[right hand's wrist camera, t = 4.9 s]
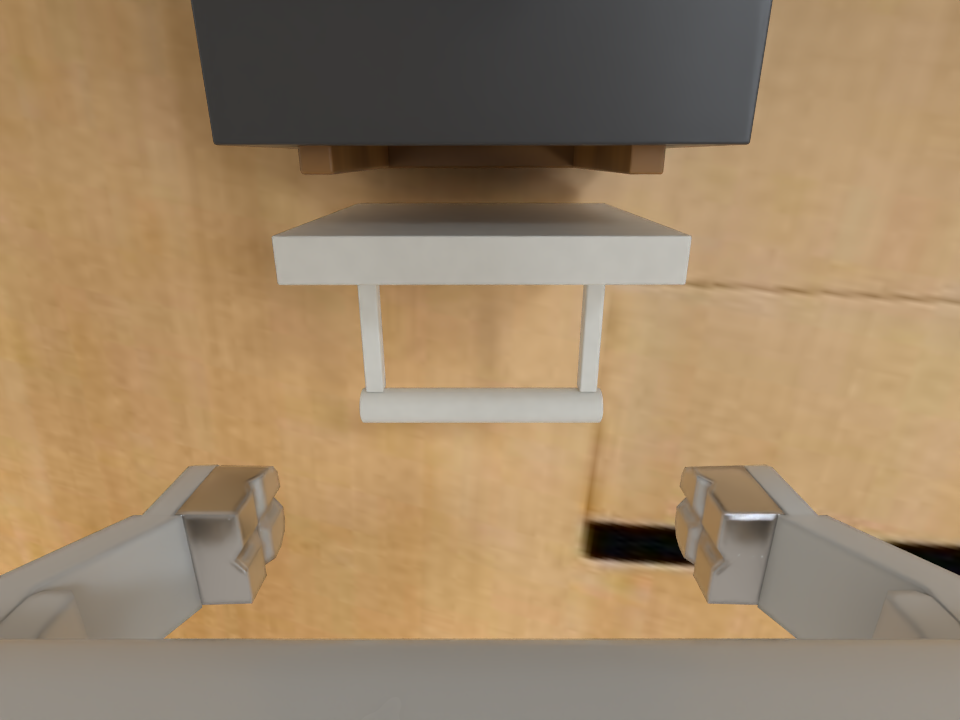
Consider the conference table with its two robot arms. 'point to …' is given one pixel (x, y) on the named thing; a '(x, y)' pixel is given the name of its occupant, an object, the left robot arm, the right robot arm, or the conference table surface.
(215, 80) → the dark grey cube
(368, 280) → the drawer
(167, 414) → the conference table surface
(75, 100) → the conference table surface
